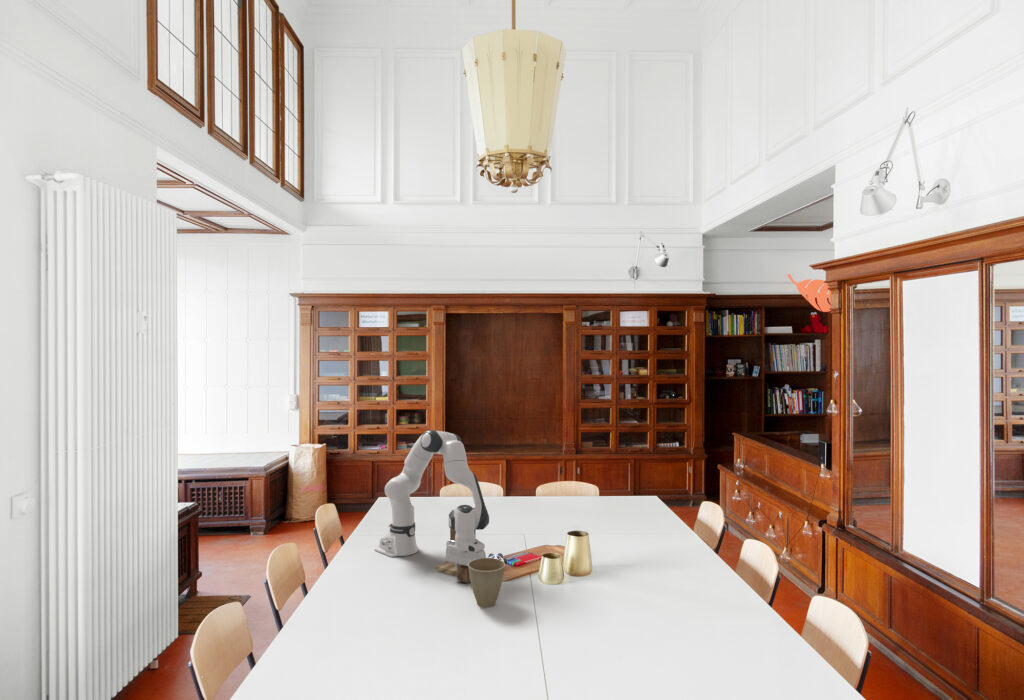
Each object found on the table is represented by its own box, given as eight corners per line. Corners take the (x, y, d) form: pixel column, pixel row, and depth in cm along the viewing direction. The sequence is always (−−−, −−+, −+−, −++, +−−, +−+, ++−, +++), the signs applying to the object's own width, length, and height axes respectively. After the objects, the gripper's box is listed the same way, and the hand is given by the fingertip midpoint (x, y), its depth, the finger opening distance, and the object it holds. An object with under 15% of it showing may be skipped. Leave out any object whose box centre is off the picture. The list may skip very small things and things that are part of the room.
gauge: (457, 580, 265) (457, 567, 265) (474, 571, 276) (474, 558, 276) (466, 583, 263) (466, 569, 263) (482, 573, 273) (483, 560, 273)
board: (436, 570, 279) (436, 566, 279) (448, 564, 286) (448, 560, 286) (478, 581, 266) (478, 577, 266) (490, 574, 274) (490, 570, 274)
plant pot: (477, 614, 233) (477, 573, 233) (462, 600, 247) (462, 561, 246) (511, 606, 240) (511, 566, 240) (495, 593, 253) (495, 555, 253)
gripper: (442, 541, 269) (442, 572, 269) (479, 549, 258) (479, 581, 258) (451, 537, 274) (451, 567, 274) (487, 545, 263) (488, 576, 263)
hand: (465, 574), depth 266 cm, fingers closed on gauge, 5 cm apart
